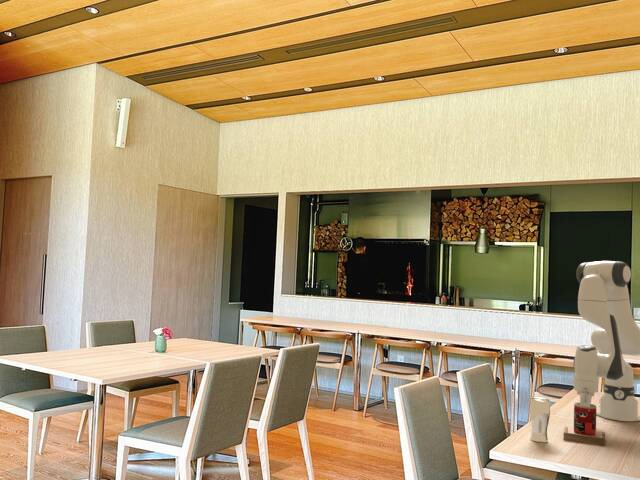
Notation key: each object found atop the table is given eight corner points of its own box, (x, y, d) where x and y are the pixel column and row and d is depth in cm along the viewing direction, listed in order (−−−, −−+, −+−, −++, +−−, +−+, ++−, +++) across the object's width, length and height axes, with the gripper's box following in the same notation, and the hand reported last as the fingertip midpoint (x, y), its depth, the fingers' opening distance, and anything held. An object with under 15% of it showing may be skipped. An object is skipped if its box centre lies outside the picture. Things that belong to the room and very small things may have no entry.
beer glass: (550, 443, 216) (551, 401, 217) (530, 441, 217) (531, 400, 218) (547, 438, 223) (548, 398, 224) (527, 436, 224) (529, 396, 225)
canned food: (569, 430, 237) (570, 402, 238) (589, 430, 238) (589, 402, 238) (579, 435, 230) (580, 406, 230) (599, 436, 230) (600, 407, 231)
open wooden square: (564, 433, 232) (564, 426, 232) (604, 438, 226) (604, 432, 226) (563, 439, 223) (563, 432, 223) (605, 445, 217) (605, 438, 217)
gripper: (594, 391, 230) (593, 428, 229) (594, 383, 248) (593, 417, 248) (576, 389, 232) (575, 425, 232) (577, 381, 251) (577, 415, 250)
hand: (584, 421), depth 240 cm, fingers closed
